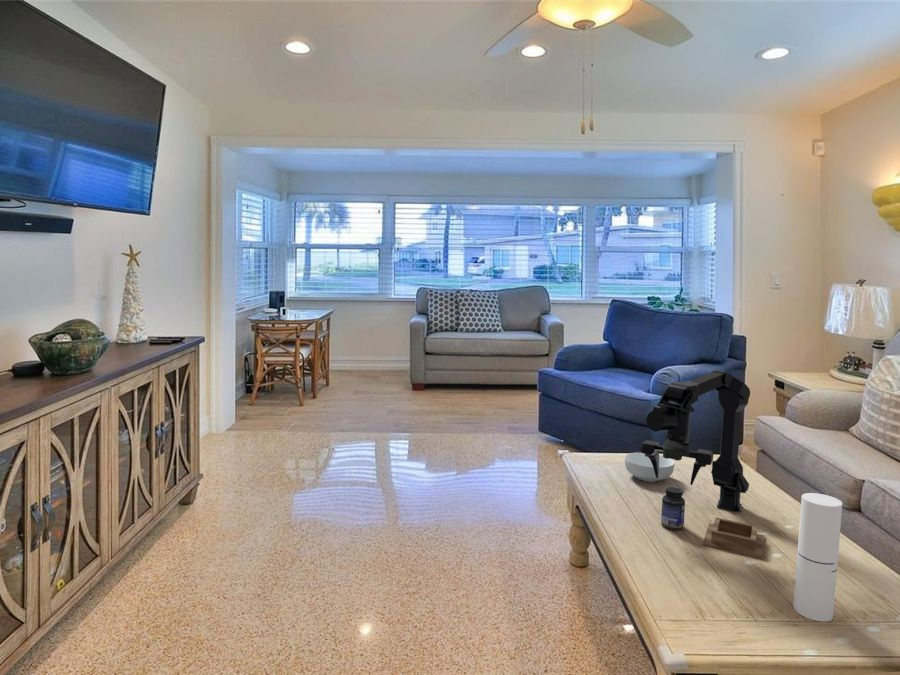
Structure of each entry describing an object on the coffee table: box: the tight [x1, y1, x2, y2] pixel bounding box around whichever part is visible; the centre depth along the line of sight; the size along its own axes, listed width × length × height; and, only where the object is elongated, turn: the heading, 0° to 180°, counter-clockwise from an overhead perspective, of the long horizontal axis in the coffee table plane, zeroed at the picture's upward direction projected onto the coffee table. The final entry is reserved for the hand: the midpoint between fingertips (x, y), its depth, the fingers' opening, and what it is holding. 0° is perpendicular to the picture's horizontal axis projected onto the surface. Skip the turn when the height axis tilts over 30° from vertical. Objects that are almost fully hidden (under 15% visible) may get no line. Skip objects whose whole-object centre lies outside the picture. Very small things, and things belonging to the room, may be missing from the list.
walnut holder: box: [702, 517, 765, 560], centre depth 151 cm, size 14×14×4 cm
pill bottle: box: [660, 486, 686, 531], centre depth 159 cm, size 6×6×11 cm
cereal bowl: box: [624, 452, 675, 483], centre depth 198 cm, size 17×17×7 cm
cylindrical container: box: [792, 492, 843, 622], centre depth 118 cm, size 7×7×25 cm
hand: (674, 481), depth 158 cm, fingers open, 9 cm apart
